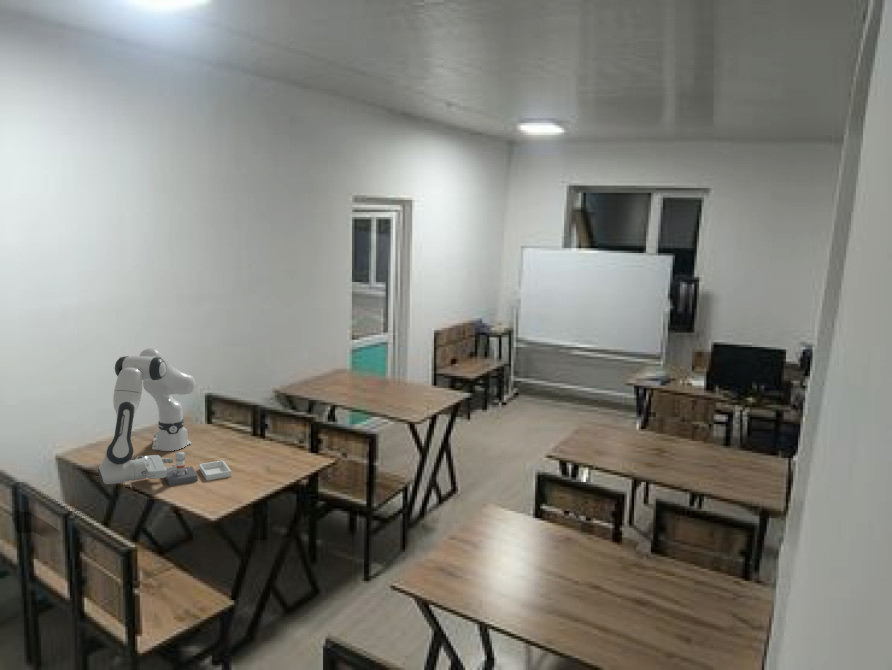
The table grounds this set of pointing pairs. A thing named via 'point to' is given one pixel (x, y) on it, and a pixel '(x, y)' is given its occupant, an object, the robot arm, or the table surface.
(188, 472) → the fuse holder
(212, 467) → the tray
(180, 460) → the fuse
